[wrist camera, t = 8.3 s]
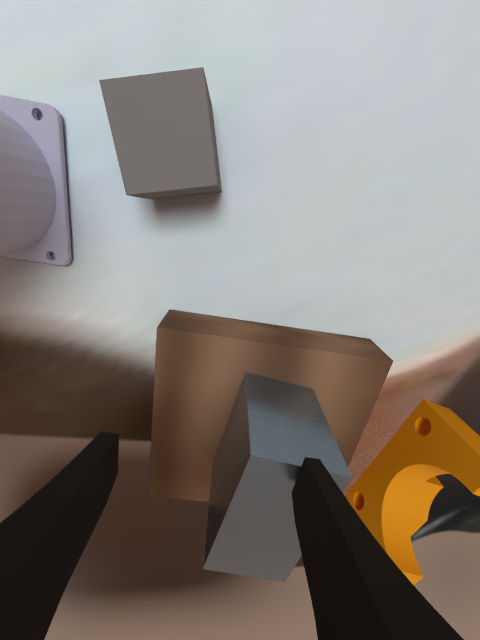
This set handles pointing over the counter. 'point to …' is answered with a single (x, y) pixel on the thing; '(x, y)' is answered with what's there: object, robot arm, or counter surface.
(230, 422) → the block
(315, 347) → the walnut stand
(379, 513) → the pipe clamp
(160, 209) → the counter surface
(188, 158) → the grey rubber block
